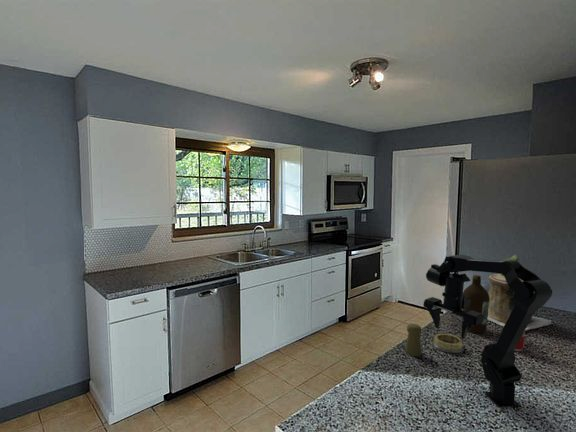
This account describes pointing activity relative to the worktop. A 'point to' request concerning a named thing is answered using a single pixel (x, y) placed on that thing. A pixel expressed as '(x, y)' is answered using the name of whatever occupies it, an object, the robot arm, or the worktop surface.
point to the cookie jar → (506, 302)
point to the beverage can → (520, 343)
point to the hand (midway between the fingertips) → (449, 333)
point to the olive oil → (477, 303)
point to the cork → (413, 340)
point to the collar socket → (448, 343)
